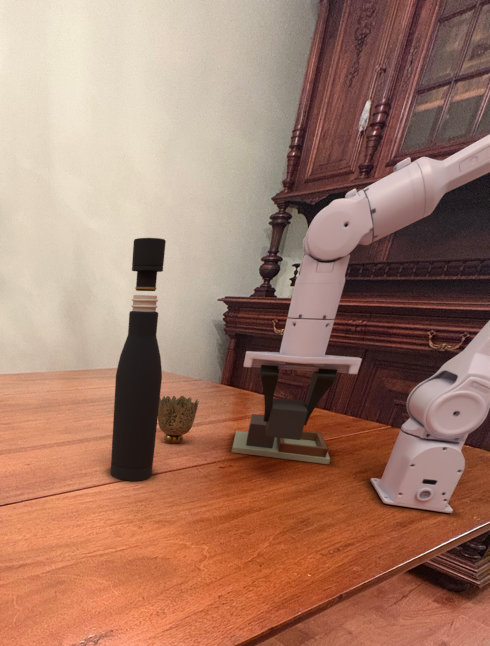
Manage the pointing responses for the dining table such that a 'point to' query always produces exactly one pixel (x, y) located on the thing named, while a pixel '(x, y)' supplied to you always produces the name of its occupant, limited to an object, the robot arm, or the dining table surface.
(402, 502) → the robot arm
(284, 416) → the loose block
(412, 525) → the dining table surface
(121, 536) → the dining table surface
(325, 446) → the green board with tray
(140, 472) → the black bottle
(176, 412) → the cup
